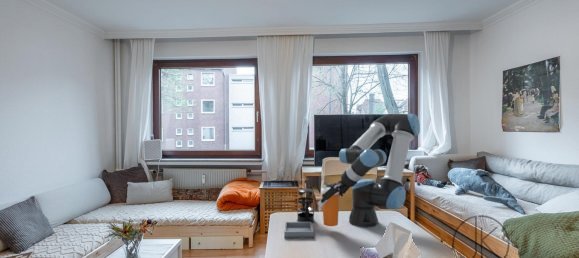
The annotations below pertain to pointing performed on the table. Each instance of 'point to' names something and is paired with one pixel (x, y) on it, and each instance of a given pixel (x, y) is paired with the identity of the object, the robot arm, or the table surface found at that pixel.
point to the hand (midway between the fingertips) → (325, 203)
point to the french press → (305, 205)
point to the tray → (298, 230)
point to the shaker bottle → (330, 207)
